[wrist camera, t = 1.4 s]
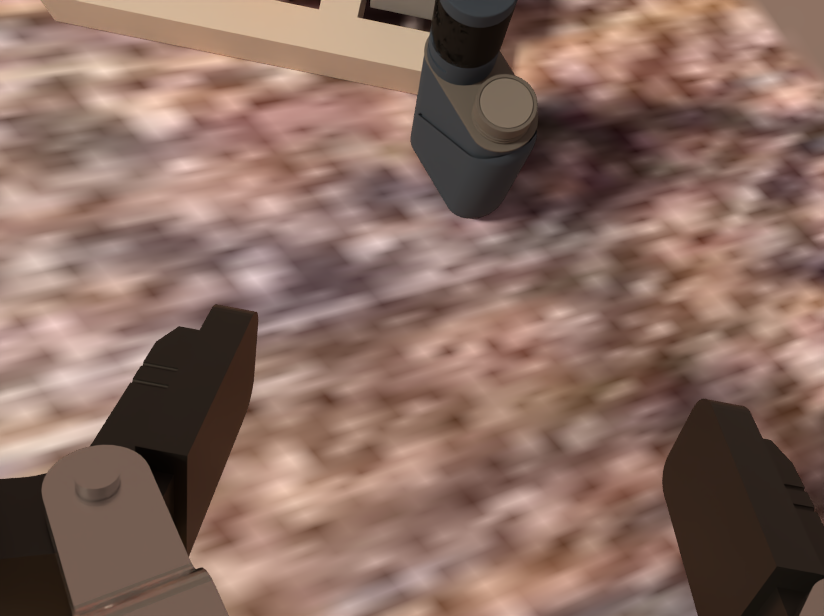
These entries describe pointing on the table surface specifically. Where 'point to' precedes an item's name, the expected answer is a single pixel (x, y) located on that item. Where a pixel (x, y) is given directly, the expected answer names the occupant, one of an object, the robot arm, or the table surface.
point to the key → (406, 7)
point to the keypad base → (267, 34)
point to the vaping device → (472, 107)
